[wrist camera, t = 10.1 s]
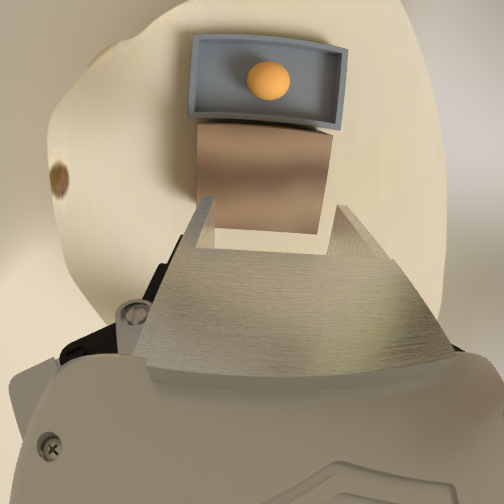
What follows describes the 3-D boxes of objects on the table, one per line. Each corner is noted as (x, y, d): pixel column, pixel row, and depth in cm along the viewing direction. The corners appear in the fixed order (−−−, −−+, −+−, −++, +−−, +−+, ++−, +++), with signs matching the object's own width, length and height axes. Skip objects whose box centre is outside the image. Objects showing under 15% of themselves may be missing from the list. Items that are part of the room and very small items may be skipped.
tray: (333, 128, 26) (340, 130, 24) (192, 117, 26) (187, 118, 24) (340, 53, 22) (348, 49, 20) (198, 39, 21) (193, 34, 19)
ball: (285, 88, 24) (287, 110, 23) (247, 85, 24) (244, 106, 23) (291, 57, 21) (294, 76, 19) (249, 53, 20) (247, 71, 19)
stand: (307, 215, 31) (316, 234, 27) (204, 208, 31) (196, 226, 27) (319, 130, 26) (332, 135, 22) (206, 121, 26) (197, 124, 22)
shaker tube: (321, 306, 15) (361, 461, 7) (205, 300, 14) (177, 465, 7) (349, 195, 11) (473, 352, 4) (203, 183, 11) (115, 359, 3)
